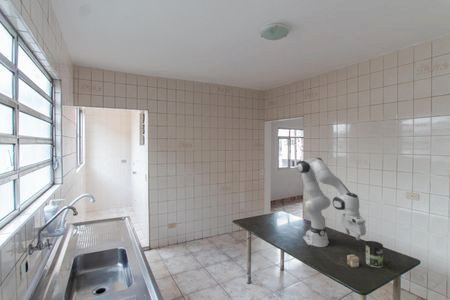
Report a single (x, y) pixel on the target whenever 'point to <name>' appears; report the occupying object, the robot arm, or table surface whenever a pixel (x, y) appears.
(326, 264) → the table surface
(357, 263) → the beech block
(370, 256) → the coffee can
